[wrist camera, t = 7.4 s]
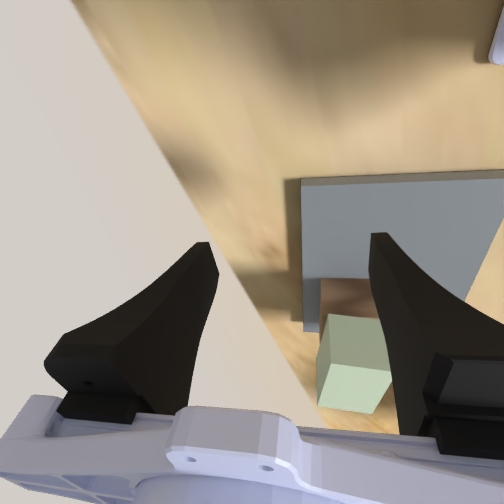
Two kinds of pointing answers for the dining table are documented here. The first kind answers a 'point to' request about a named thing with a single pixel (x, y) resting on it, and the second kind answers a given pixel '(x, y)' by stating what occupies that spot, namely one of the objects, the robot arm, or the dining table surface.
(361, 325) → the green brick
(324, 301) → the walnut brick
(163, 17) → the dining table surface
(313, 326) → the baseplate
